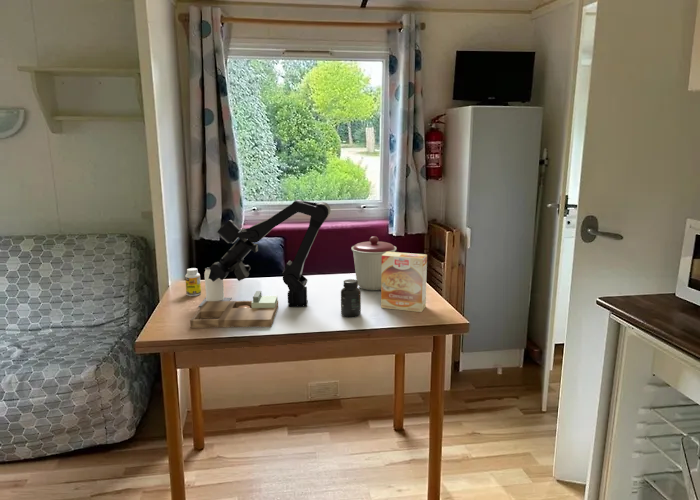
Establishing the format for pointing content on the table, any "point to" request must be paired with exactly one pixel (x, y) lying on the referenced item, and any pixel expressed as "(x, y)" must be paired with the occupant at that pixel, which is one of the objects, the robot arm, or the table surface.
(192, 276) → the supplement bottle
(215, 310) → the puzzle board
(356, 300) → the supplement bottle
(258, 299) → the cover
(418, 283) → the coffeecake box
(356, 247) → the canister
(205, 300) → the mat
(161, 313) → the table surface
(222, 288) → the can
